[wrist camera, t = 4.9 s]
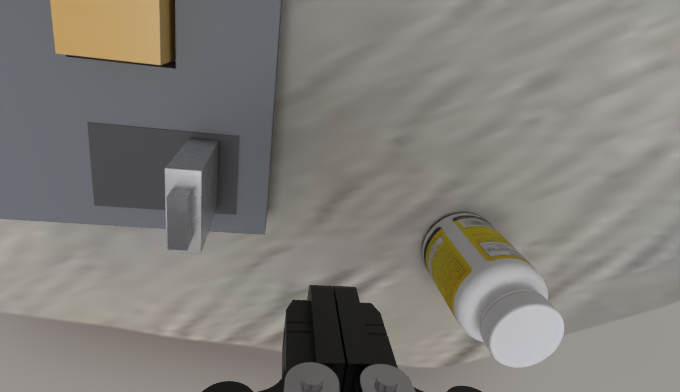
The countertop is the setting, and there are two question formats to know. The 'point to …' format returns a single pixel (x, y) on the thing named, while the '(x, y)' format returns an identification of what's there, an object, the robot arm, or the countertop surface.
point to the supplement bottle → (492, 290)
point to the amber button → (116, 29)
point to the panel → (137, 117)
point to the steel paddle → (191, 195)
